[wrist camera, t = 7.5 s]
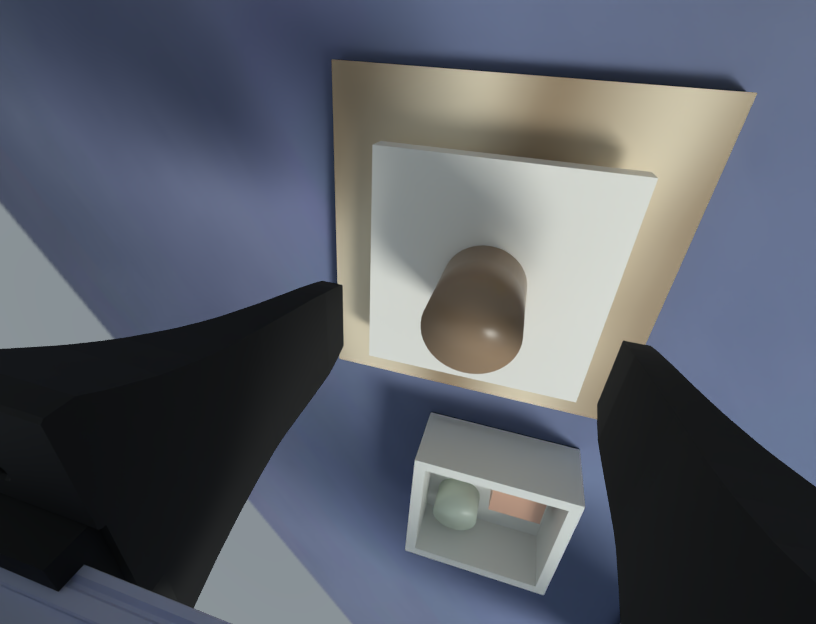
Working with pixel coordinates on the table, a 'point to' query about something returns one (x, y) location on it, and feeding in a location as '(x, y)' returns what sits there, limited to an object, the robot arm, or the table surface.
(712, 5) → the table surface
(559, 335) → the lid
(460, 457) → the storage box
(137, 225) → the table surface
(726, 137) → the birch board
